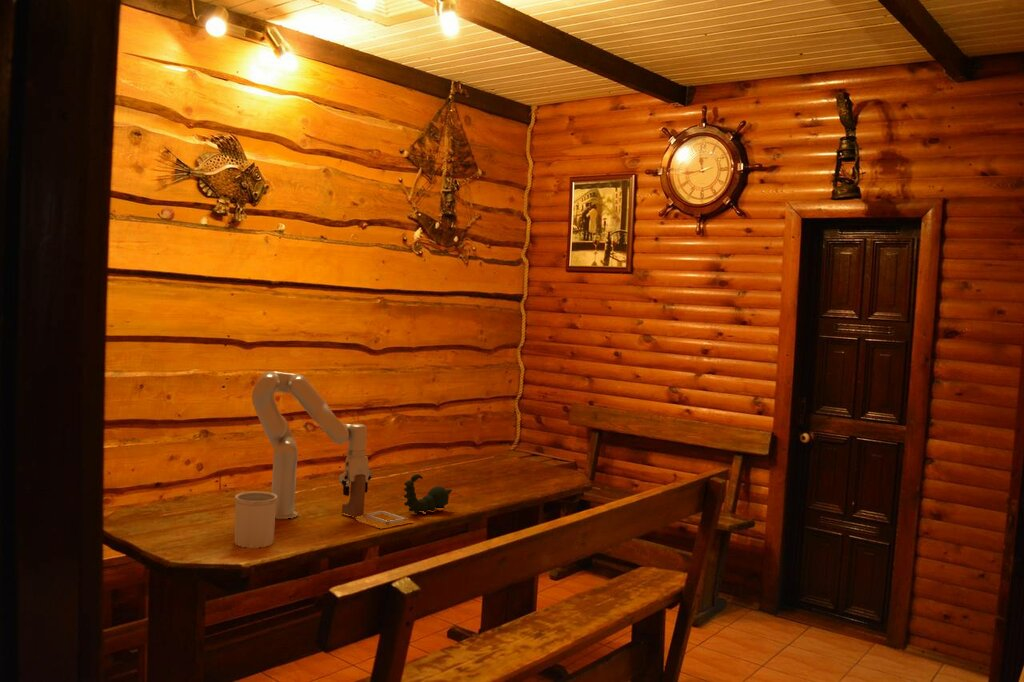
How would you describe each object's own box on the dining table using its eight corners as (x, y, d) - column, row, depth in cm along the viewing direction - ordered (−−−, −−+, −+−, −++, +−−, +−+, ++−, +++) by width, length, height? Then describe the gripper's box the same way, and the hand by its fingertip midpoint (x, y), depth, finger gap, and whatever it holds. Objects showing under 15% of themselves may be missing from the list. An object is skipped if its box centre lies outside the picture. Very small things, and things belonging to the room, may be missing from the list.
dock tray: (380, 529, 341) (380, 523, 341) (355, 520, 351) (355, 514, 351) (413, 523, 354) (414, 517, 354) (388, 514, 365) (389, 509, 365)
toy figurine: (413, 522, 362) (458, 510, 379) (412, 478, 361) (458, 468, 377) (400, 517, 369) (445, 505, 386) (399, 474, 367) (445, 464, 384)
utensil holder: (257, 551, 302) (260, 502, 301) (223, 544, 307) (226, 496, 306) (282, 541, 315) (285, 495, 315) (250, 535, 321) (252, 489, 320)
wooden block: (341, 514, 360) (343, 472, 359) (349, 513, 364) (352, 471, 363) (355, 519, 354) (358, 476, 354) (363, 517, 358) (366, 475, 357)
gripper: (345, 457, 349) (344, 498, 350) (378, 452, 362) (377, 492, 363) (334, 454, 354) (333, 495, 355) (367, 450, 367) (365, 489, 368)
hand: (355, 493), depth 359 cm, fingers open, 9 cm apart
